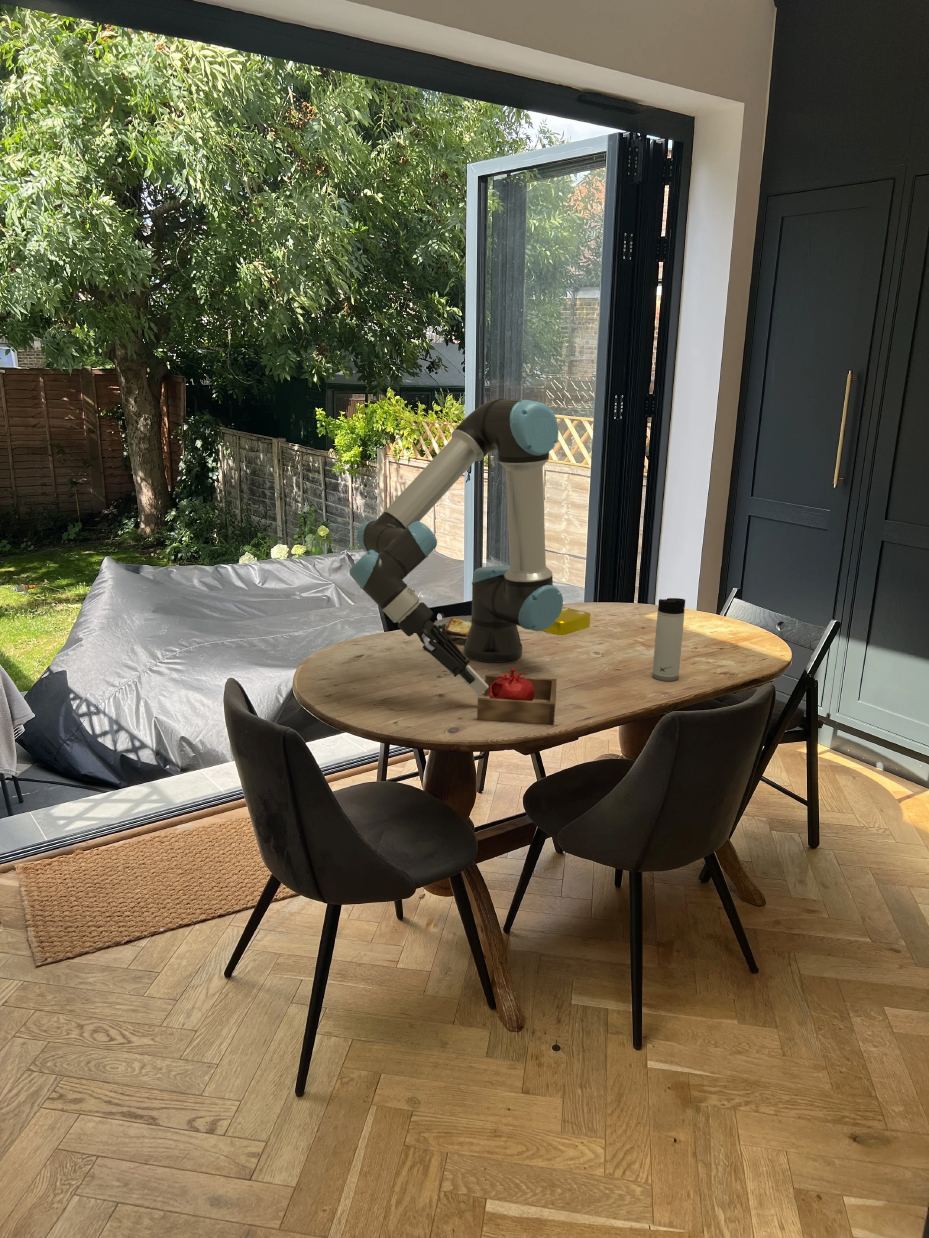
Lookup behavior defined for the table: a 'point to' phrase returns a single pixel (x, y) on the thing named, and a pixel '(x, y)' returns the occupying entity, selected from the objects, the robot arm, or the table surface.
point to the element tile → (569, 622)
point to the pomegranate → (512, 687)
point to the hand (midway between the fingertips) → (483, 690)
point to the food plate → (456, 626)
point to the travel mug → (668, 639)
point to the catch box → (520, 704)
